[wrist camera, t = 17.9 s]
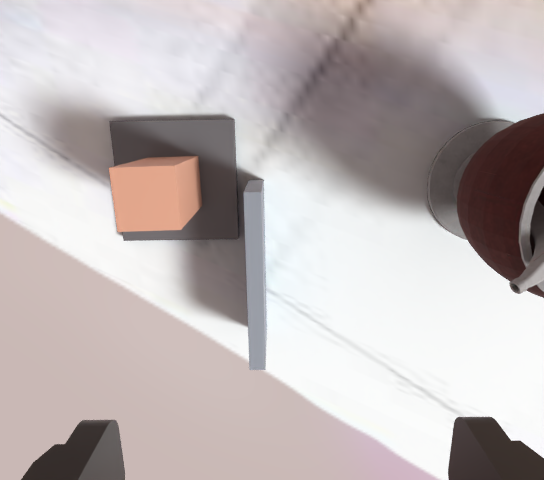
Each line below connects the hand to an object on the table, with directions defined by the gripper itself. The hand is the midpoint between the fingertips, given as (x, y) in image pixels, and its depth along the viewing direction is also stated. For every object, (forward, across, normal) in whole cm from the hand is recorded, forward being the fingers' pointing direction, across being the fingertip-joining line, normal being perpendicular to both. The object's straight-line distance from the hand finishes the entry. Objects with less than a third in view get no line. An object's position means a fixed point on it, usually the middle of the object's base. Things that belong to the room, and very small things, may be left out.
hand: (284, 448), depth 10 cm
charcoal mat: (+34, +10, -2) cm, 36 cm away
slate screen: (+34, +2, +6) cm, 35 cm away
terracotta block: (+33, +10, -2) cm, 35 cm away
